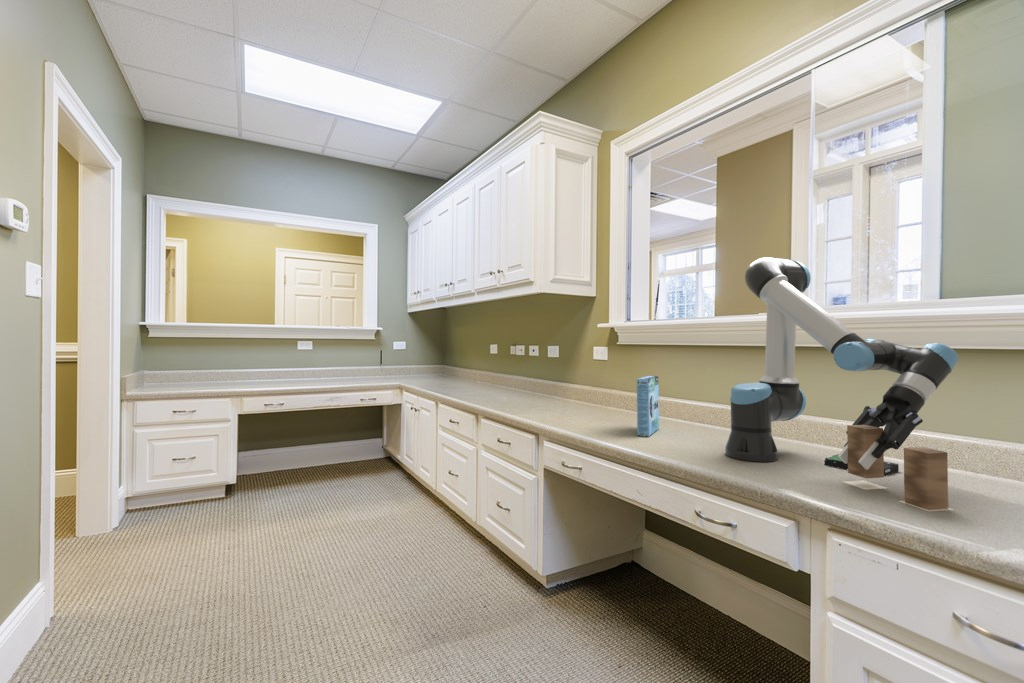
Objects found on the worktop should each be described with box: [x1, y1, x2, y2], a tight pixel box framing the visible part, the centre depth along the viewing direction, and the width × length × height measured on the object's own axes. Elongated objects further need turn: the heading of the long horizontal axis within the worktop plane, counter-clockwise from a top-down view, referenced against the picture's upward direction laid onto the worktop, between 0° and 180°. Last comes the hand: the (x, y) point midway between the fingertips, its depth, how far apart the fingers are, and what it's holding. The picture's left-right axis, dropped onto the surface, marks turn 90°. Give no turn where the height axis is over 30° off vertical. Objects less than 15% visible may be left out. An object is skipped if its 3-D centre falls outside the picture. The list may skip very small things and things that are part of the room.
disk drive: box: [823, 453, 900, 477], centre depth 133 cm, size 10×3×15 cm
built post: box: [903, 446, 949, 510], centre depth 99 cm, size 5×5×12 cm
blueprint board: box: [843, 479, 955, 512], centre depth 107 cm, size 23×18×1 cm
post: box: [846, 424, 885, 480], centre depth 113 cm, size 5×5×12 cm
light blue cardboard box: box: [636, 375, 660, 437], centre depth 188 cm, size 20×5×23 cm, turn 150°
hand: (852, 462), depth 112 cm, fingers closed on post, 5 cm apart
